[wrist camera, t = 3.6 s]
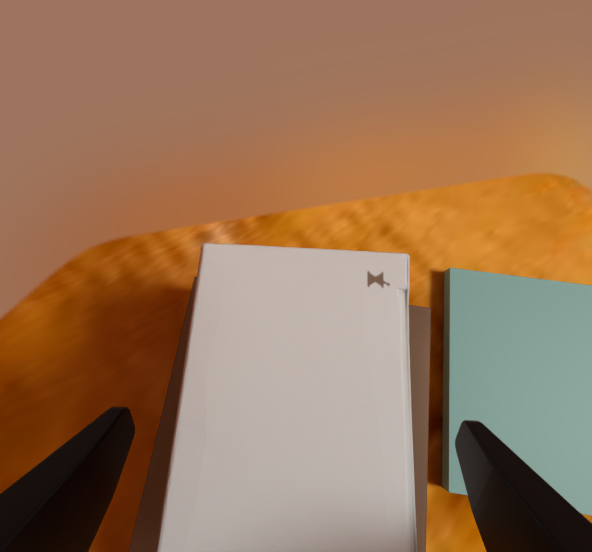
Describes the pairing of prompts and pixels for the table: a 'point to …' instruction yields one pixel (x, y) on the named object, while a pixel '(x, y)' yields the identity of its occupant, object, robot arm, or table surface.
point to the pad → (520, 374)
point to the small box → (294, 405)
